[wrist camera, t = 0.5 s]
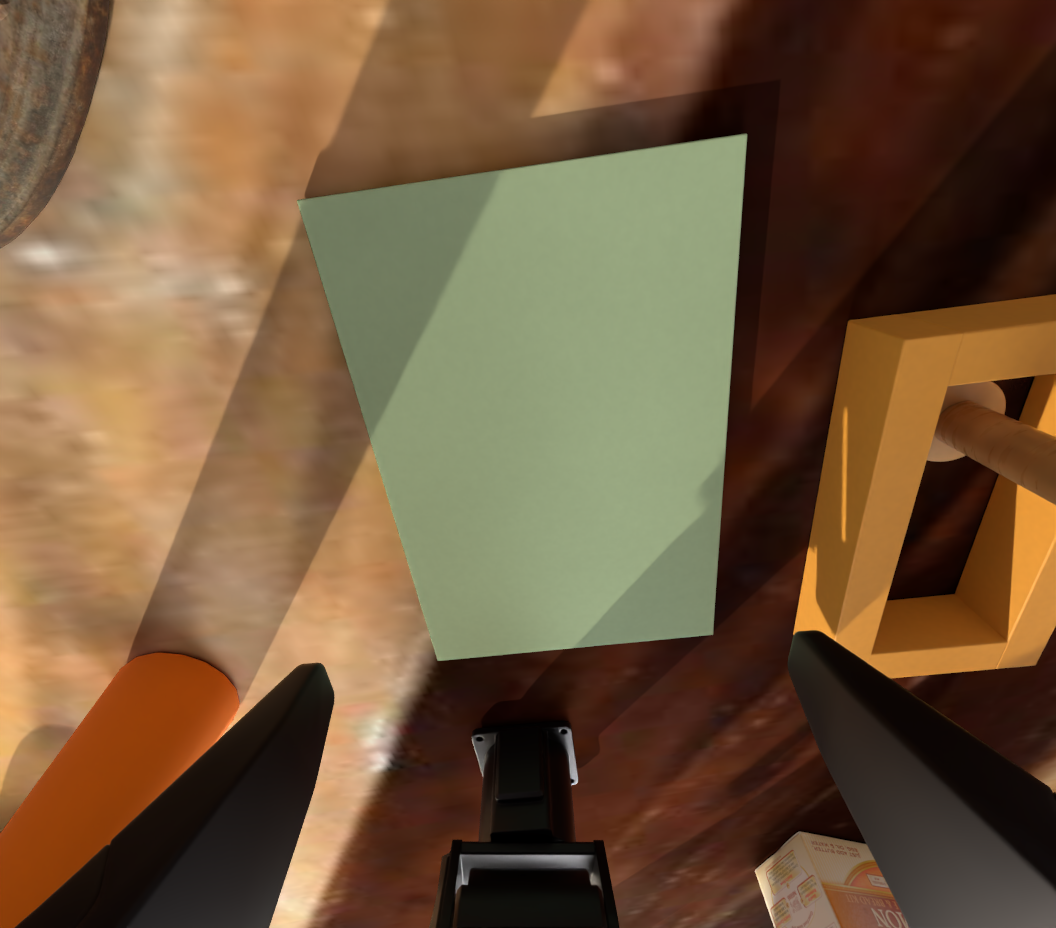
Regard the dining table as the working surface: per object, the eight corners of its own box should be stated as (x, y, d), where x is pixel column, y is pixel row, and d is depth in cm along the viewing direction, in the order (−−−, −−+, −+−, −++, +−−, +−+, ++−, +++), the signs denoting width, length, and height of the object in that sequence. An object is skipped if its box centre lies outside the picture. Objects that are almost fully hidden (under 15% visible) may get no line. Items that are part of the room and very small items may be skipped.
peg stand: (979, 451, 23) (1136, 534, 17) (891, 461, 23) (1016, 546, 17) (1007, 368, 21) (1194, 430, 15) (911, 380, 21) (1059, 445, 15)
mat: (710, 629, 28) (713, 635, 28) (438, 655, 29) (437, 661, 29) (743, 134, 17) (748, 133, 17) (300, 200, 18) (296, 200, 17)
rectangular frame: (980, 616, 28) (1036, 666, 25) (792, 634, 28) (824, 684, 25) (1117, 285, 19) (1225, 299, 16) (847, 319, 20) (905, 339, 17)
